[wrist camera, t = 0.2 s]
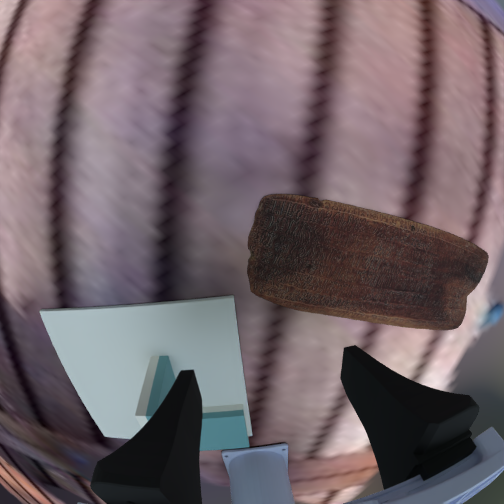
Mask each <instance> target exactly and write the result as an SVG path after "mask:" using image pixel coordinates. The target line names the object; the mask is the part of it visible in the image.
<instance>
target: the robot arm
mask: <svg viewBox="0 0 504 504" xmlns="http://www.w3.org/2000/svg"><path fill="white" fill-rule="evenodd" d="M340 378H341V381H342V384H343V386H344V389H345V392H346V394H347V396H348V398H349V400H350V402H351V404H352V406H353V408H354V409H355V411H356V413H357V415H358V417H359V419H360V421H361V422H362V424H363V426H364V428H365V430H366V433H367V435H368V438H369V441H370V443H371V446H372V449H373V452H374V455H375V458H376V461H377V464H378V468H379V471H380V475H381V479H382V483H383V487H384V490H382V491H380V492H377V493H374V494H372V495H369V496H366V497H363V498H360V499H357V500H354V501H350V502H347V503H344V504H462V503H464V502H465V501H467V500H468V499H469V498H471V497H472V496H473V495H475V494H476V493H478V492H479V491H480V490H482V489H483V488H485V487H486V486H487V485H489V484H490V483H491V482H492V481H493V480H494V479H495V478H496V477H497V476H498V475H499V474H500V473H501V472H502V471H503V470H504V441H503V439H502V438H501V437H500V436H499V434H498V433H497V432H496V431H495V429H494V428H493V427H490V428H489V429H488V430H486V431H485V432H483V433H482V434H480V435H479V436H477V437H476V438H475V439H474V440H473V441H472V439H471V438H470V436H471V435H472V433H471V431H470V430H469V428H470V427H471V425H472V424H473V422H474V420H475V419H476V417H477V415H478V412H479V406H478V405H477V404H476V402H475V401H474V400H473V399H472V398H471V397H470V396H469V395H463V394H454V393H449V392H445V391H440V390H437V389H433V388H430V387H427V386H424V385H422V384H419V383H417V382H414V381H412V380H410V379H408V378H406V377H404V376H402V375H400V374H398V373H396V372H395V371H393V370H391V369H389V368H388V367H386V366H385V365H383V364H382V363H380V362H379V361H377V360H376V359H374V358H373V357H371V356H370V355H369V354H367V353H366V352H364V351H363V350H362V349H360V348H359V347H357V346H356V345H354V346H350V347H345V348H344V352H343V361H342V369H341V377H340ZM202 418H203V411H202V397H201V393H200V390H199V386H198V383H197V379H196V376H195V372H194V369H193V370H181V371H180V372H179V374H178V376H177V378H176V380H175V382H174V384H173V385H172V387H171V389H170V391H169V392H168V394H167V395H166V397H165V399H164V400H163V402H162V403H161V405H160V406H159V408H158V409H157V410H156V412H155V413H154V414H153V416H152V417H151V418H150V419H149V421H148V422H147V423H146V424H145V425H144V426H143V427H142V428H141V429H140V430H139V431H138V432H137V433H136V434H135V435H134V436H133V437H132V438H131V439H130V440H129V441H128V442H126V443H125V444H124V445H123V446H121V447H120V448H119V449H117V450H116V451H115V452H113V453H111V454H110V455H108V456H107V457H105V458H103V459H102V460H100V461H98V462H97V465H96V467H95V470H94V473H93V477H92V481H91V485H90V486H91V489H92V490H93V492H94V493H95V494H96V495H97V496H99V497H100V498H101V499H102V500H103V501H104V502H106V503H107V504H202V498H201V486H200V469H199V452H200V441H201V430H202ZM222 457H223V460H224V463H225V466H226V469H227V472H228V474H229V477H230V488H231V500H232V504H295V502H294V498H293V494H292V489H291V485H290V481H289V476H288V445H287V444H286V443H283V444H277V445H270V446H263V447H255V448H246V449H236V450H224V451H222ZM77 504H85V503H80V502H78V503H77Z"/></svg>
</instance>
